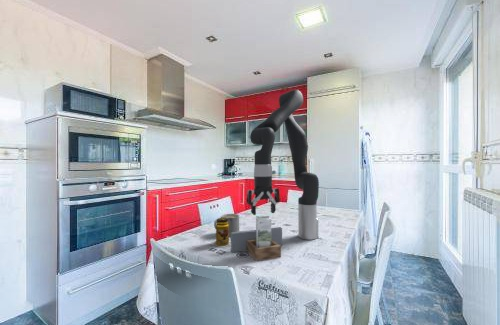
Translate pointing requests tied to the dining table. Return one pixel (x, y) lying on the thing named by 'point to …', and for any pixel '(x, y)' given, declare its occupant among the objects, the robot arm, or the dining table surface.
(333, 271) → the dining table surface
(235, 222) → the coffee mug
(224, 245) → the condiment
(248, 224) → the dining table surface
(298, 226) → the robot arm
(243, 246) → the backstop wall
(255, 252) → the socket block
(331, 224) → the dining table surface
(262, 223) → the syrup box
